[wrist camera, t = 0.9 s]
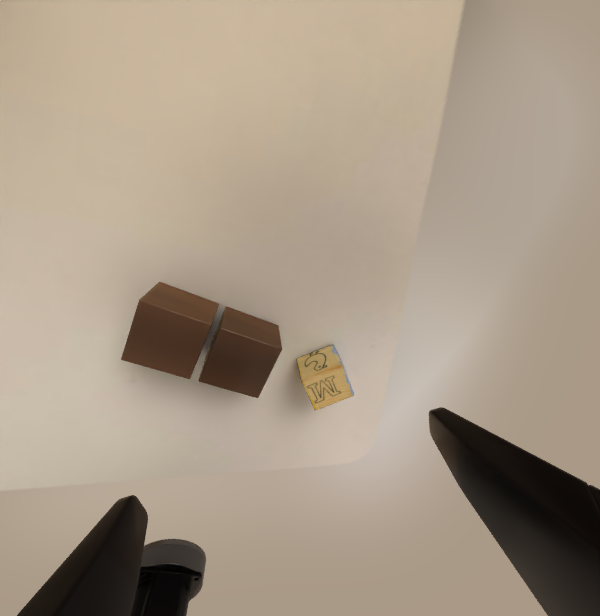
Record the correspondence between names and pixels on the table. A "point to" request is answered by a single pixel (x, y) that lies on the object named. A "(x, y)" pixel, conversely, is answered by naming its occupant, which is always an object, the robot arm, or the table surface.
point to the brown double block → (202, 340)
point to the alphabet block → (324, 377)
